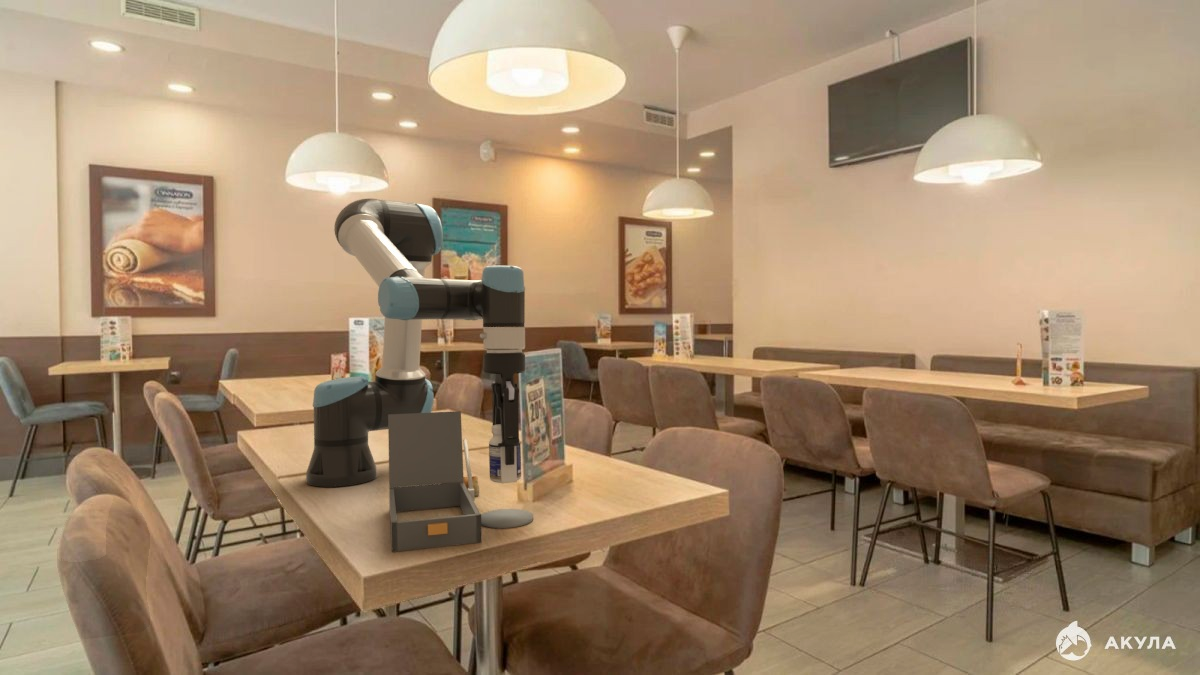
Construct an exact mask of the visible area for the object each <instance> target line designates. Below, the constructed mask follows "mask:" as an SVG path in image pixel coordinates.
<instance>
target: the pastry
mask: <svg viewBox="0 0 1200 675" xmlns="http://www.w3.org/2000/svg"><path fill="white" fill-rule="evenodd" d="M463 477H464V484H465V486H466V488H467V489H468V488H469V485H468V477H467V476H463ZM478 478H479V477H478V476H476V475H473V476H472V482H473V489H474V497H478V496H479V495H480V485H479V481H478ZM455 483H456V482H455ZM442 484H444V483H442Z"/></svg>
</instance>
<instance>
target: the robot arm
mask: <svg viewBox="0 0 1200 675" xmlns="http://www.w3.org/2000/svg"><path fill="white" fill-rule="evenodd" d="M335 219H336V220H335V222H334V229H333V230H334V231H333V232H334V235H335V238H336V240H337V242H338V244H339V246H340V247H341V248H342V250H343V251H345V252H346V253H347V254H349V255H351V256H353V257H355V258H356V259H357V261H358V262H359V263H360V265H361V266H362V267H363V269H364V270H365V271H366V272H367V274H368V275H369V276H370V277H371V279H372V280H373V281H374V283H375V284H376V285H377V286H378V290H377V291H378V292H377V303H378V306H379V310H380V313H381V314H382V315H383V317H384V326H383V327H384V328H383V344H382V345H383V348H382V366H380V368H378V370H377V371H376V372H375V378H374V381H369V379H368V378H367V377H366V376H363V375H362V376H361V375H358V376H351V377H350V376H347V377H342V378H341V377H340V378H335V379H331V380H327V381H323V382H320V383H318V384H317V385H316V386H315V388H314V390H313V402H312V407H313V440H314V442H313V446H314V447H313V452H312V454H311V457H310V460H309V464H308V467H307V470H306V474H305V476H306V480H305V481H306V484H308V485H309V486H313V487H321V488H323V487H324V488H328V487H330V488H331V487H333V488H335V487H346V486H354V485H359V484H364V483H367V482H370V481H372V480H373V481H374V480H375V479H376V478H377V465H376V462H375V459H374V457H373V454H372V451H371V448H370V446H369V432H375V431H384V430H385V431H386V430H388V415H389V414H410V413H432V410H433V407H434V400H435V399H434V397H435V395H434V392H433V384H432V383H431V381H430V380H429V379H427V378H426V373H425V372H424V371H423V369H422V368H421V367H420V365H421V364H420V363H421V346H422V325H423V320H464V321H479V320H482V328H483V332H481V333H480V334H479V338H480V339H481V340H482V339H483V341H482V342H483V346H482V348H483V350H485V351H486V352H484V354H483V355H482V356H483V362H482V363H483V372H484V374H489V375H495V377H494V378H495V379H494V382H492V383H491V390H492V391H491V394H492V397H491V398H492V399H491V400H492V403H491V404H492V426H493V425H498V424H501V434H502V443H499V444H498V447H501V483H500V484H511V483H512V484H513V483H517V482H518V481H517V450H516V446H517V444H519V439H520V433H519V432H520V430H519V428H520V427H519V425H520V424H519V420H520V419H519V418H520V417H519V393H520V389H519V387H518V384H517V383H515V375H514V374H522V373H524V372H525V371H526V354H525V353H524V352H523V350H525V348H526V327H525V319H526V318H525V315H526V314H525V310H526V309H525V307H526V304H525V303H526V302H525V300H526V299H525V296H526V292H525V291H526V286H525V279H524V271H523V269H522V268H521V267H519V266H515V265H489V266H485V267H484V268H483V270H482V275H481V279H479V280H477V279H476V280H475V279H473V280H472V279H471V280H469V279H447V278H446V279H445V278H443V279H442V278H427V277H425V270H426V268H428V267H429V265H431V264H432V260H433V256H435V255H438V254H439V253H440V251H441V249H442V248H441V247H442V246H443V240H444V234H443V226H442V221H441V218H440V217H439V214H438V212H437V210H435V209H434V208H433V207H432V206H429V205H427V204H426V205H425V204H420V203H417V202H404V201H395V200H387V199H378V198H361V199H358V200H354V201H353V202H350V203H349V204H347V205H345V206H344V207H343V208H342V209H341V210H340V212H339V213H338V215H337V216H336V218H335ZM508 437H510V438H508Z"/></svg>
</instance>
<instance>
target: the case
mask: <svg viewBox="0 0 1200 675" xmlns="http://www.w3.org/2000/svg"><path fill="white" fill-rule="evenodd" d="M387 430H388V431H387V432H388V436H387V437H388V479H389V480H388V488H389V490H388V492H389V494H388V496H389V497H388V498H389V499H388V500H389V503H388V504H389V521H390V522H389V523H390V541H391V552H392V553H394V552H395V551H396V552H402V551H403V552H406V551H412V550H421V549H422V550H423V549H431V548H441V547H448V546H458V545H467V544H468V545H469V544H477V543H482V525H481V514H482V513H481V512H480V510H479V508H478V506H477V504H476V502H475V496H474V489H473V482H472V477H473V476H472V468H471V466H472V465H471V460H470V453H469V445H468V443H469V442H468V439H466V438H464V439H463V434H462V430H463V429H462V411H460V410H457V411H456V410H455V411H438V412H432V411H431V413H410V414H389V415H388V429H387ZM463 450H464V459H463ZM464 460H465V467H466V477H468V485H469V488H468V489H467V488H466V486H465V484H464V477H465V476H464ZM455 482H456V483H455ZM442 483H444V484H442ZM452 507H460V509H461V511H462V515H453V516H450V515H449V516H441V517H432V518H431V517H429V518H421V519H420V518H418V519H411V520H410V519H409V520H399V521H397V520H398V519H397V518H398V517H397V512H407V511H419V510H421V511H422V510H430V509H441V508H452Z"/></svg>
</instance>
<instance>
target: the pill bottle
mask: <svg viewBox="0 0 1200 675" xmlns="http://www.w3.org/2000/svg"><path fill="white" fill-rule="evenodd" d="M491 434H492V437H491V438H490V439H489V441H488V453H489V454H488V461H489V463H488V464H489V479H490V481H491V482H493V483H498V484H502V483H501V447H498V444H499V443H502V434H501V424H498V425H493V424H492V426H491ZM508 438H510V437H508ZM521 447H522V446H521V439H520V438H519V444H517V446H516V450H517V482H518V481H519V480H521V479H522V456H521V455H522V448H521Z"/></svg>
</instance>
